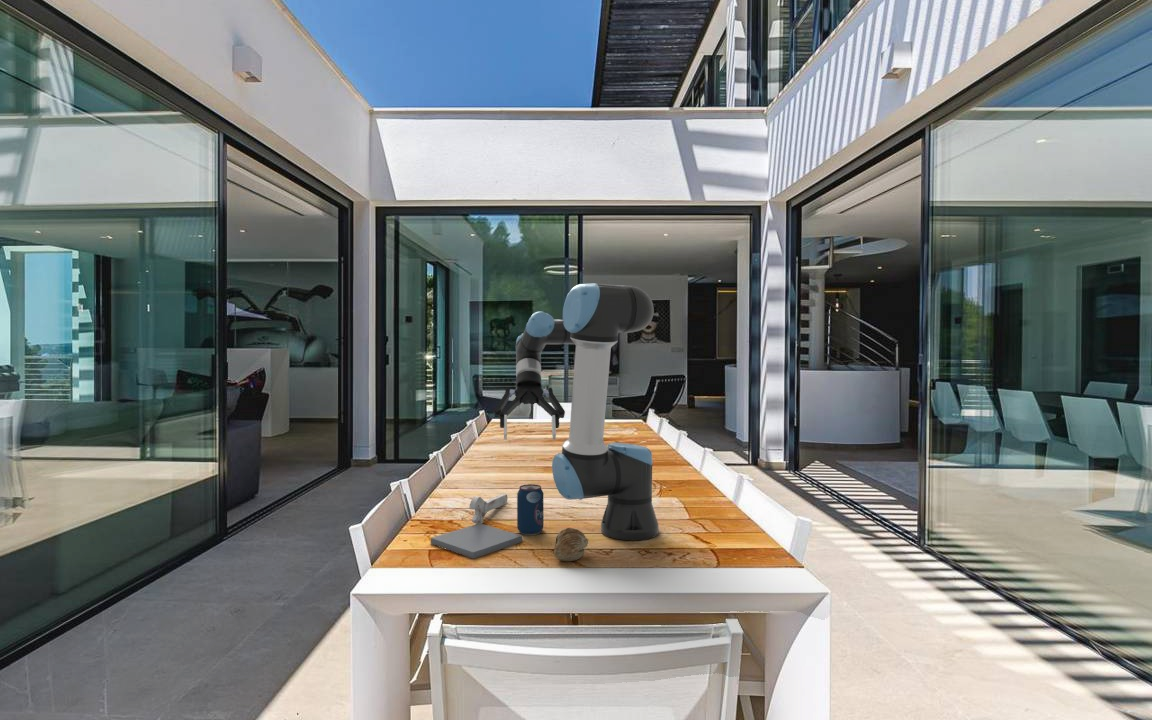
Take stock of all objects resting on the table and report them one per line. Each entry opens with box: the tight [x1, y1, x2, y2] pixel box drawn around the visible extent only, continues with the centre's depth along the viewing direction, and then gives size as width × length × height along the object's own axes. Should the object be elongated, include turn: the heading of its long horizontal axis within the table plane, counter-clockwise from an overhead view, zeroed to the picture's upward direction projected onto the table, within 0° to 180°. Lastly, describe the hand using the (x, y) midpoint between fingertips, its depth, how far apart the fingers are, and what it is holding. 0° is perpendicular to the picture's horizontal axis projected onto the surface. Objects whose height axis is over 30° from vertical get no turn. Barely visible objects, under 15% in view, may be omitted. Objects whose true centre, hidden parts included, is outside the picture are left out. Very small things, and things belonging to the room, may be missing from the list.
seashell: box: [553, 527, 589, 562], centre depth 143 cm, size 9×7×8 cm
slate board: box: [430, 523, 523, 559], centre depth 153 cm, size 16×16×2 cm
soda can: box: [516, 483, 545, 536], centre depth 162 cm, size 7×7×12 cm
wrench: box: [469, 493, 508, 525], centre depth 178 cm, size 8×2×30 cm
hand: (529, 437), depth 171 cm, fingers open, 13 cm apart
